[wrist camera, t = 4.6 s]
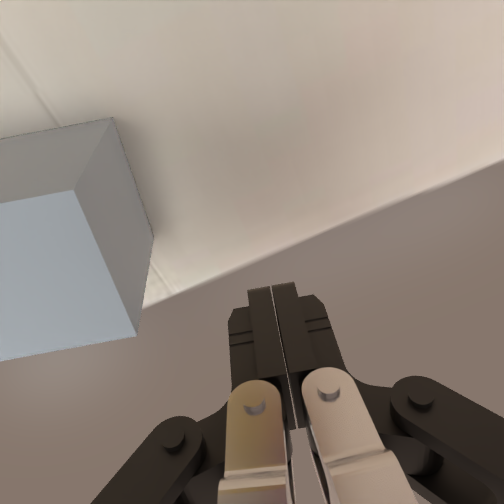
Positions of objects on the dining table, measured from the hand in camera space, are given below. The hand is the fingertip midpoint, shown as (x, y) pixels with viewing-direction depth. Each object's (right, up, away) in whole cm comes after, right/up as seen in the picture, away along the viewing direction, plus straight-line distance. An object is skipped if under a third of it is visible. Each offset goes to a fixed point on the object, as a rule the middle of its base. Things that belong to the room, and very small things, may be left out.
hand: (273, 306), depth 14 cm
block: (-11, +5, +9) cm, 15 cm away
